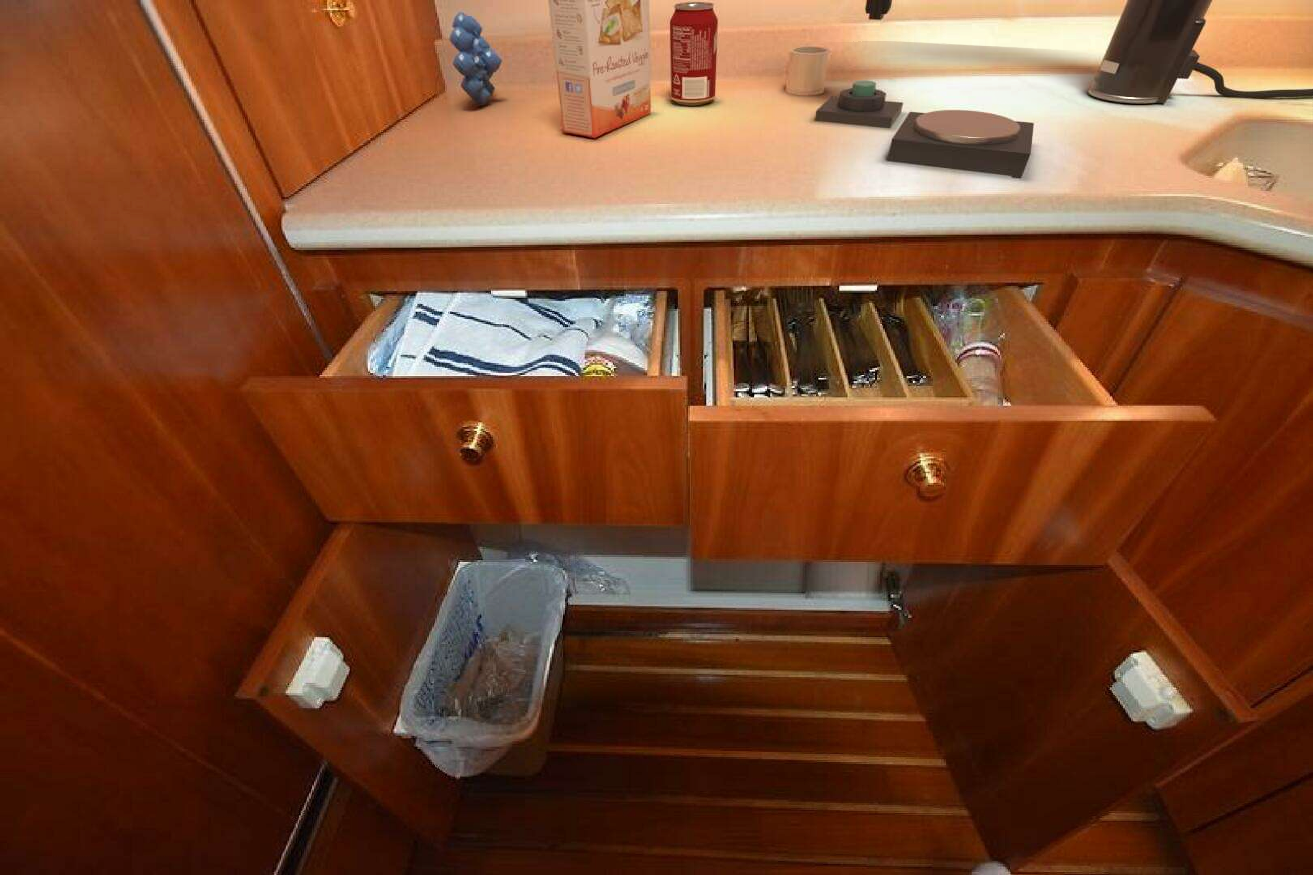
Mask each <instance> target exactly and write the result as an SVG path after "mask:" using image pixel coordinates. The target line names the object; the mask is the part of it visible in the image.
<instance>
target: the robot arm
mask: <svg viewBox="0 0 1313 875" xmlns="http://www.w3.org/2000/svg"><path fill="white" fill-rule="evenodd" d="M1212 2H1213V0H1126V2H1125V5H1124V7H1123V10H1122V11H1121V15H1120V17H1119V20H1118V22H1117V24H1116V26H1115V29H1114V31H1113V34H1112V36H1111V39H1110V40H1109V43H1108V45H1107V48H1106V51H1105V53H1104V55H1103V58H1102V60H1101V62H1100V65H1099V67H1098V70H1097V72H1096V74H1095V76H1094V78H1093V82H1092V84H1091V85H1090V87H1089V89H1088V91H1087V93H1088V94H1089V95H1090V96H1092V97H1094V98H1097V99H1100V100H1105V101H1109V102H1116V103H1124V104H1158V103H1159V104H1166V103H1167V101H1168V99H1169V96H1170V94H1172V93H1171V92H1172V91H1173V88H1174V87H1175V84H1176V83H1177V81H1178V80H1179V79H1181V80H1188V79H1189V78H1190V76H1191V75H1192V73H1193V71H1194V72H1197V73H1199V74H1202V75H1204V76H1207V77H1208V78H1210V79H1211V80H1213V82H1214V90H1215V91H1216V93H1217V94H1218V95H1220V96H1222V97H1226V98H1234V99H1235V98H1237V99H1258V100H1259V99H1271V98H1272V99H1273V98H1309V97H1313V88H1302V89H1301V88H1300V89H1299V88H1298V89H1297V88H1296V89H1293V88H1292V89H1269V90H1267V89H1266V90H1255V91H1254V90H1249V91H1247V90H1246V91H1245V90H1236V89H1232V88H1229V87H1227V86H1226V85H1225V81H1224V80H1225V79H1224V76H1223V75H1222V74H1221V72H1219V71H1218V70H1217V69H1215V68H1213V67H1211V66H1209V65H1206V64H1203V63H1202V62H1199V59H1200V55H1199V53H1198V52H1197V51H1196V50H1195V49H1194V47H1195V45H1196V44H1197V41H1198V39H1199V37H1200V35H1201V33H1202V31H1203V29H1204V27H1205V25H1206V23H1207V20H1206V18H1205V16H1206V14H1207V12H1208V11H1209V9H1210V6H1211V4H1212ZM892 5H893V0H866V3H865V7H864V8H865V9H864V11H865V14H869V15H868V20H870V21H871V20H872V21H882V20H883V19H884V17H885V15H887V14H889V12H890V11H891V9H892Z"/></svg>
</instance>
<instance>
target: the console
mask: <svg viewBox="0 0 1313 875" xmlns="http://www.w3.org/2000/svg"><path fill="white" fill-rule="evenodd" d="M851 92H852V87H850V88H846V89H841V91H840V92H839V93H838V96H833V95H832V96H830V97H829V98H828V99H827V100H826V101H825V102H824V103H823V104H822V105H820V106H819V107H818V108H817V109H816V111H815V117H814V121H815V122H819V123H830V124H840V125H849V126H850V125H851V126H859V127H860V126H861V127H869V128H871V127H872V128H879V129H880V128H881V129H892V127H893V125H894V124H895V122H896V121H897V119H898V118H899V117H900V115H901V114H902V110H903V106H904V102H903V101H892V100H886V97H887V93H886V92H884V91H883V90H881V89H876V88H875V93H874V96H864V97H862V96H854V95H851Z"/></svg>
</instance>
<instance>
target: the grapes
mask: <svg viewBox="0 0 1313 875" xmlns="http://www.w3.org/2000/svg"><path fill="white" fill-rule="evenodd" d="M451 26H452V28H453V29H452V31H451V32H450V35H449V42H450V43H451V45H452V46H453V47H454V48H455V49H456V50H457V51H458V53H457V54H456V55H455V57H454V58H453V61H452V62H453V63H452V65H453V67H454V68H455V69H456V70H457V71H458V73H459V74H460V75H461V76H463V79H462V80H461V83H460V87H461V89H462V90H463V91H464V93H466V94H467V95H468V96H469V97H470V98H471V100H472V101H473V102H474V103H475V104H476V105H477V106H480V107H483V106H485V105H486V104H487V103H488V102H489V100H490V98H491V97H492V96H493V94H494V92H495V89H496V86H494V85H493V83H492V82H491V81H490V80H491V78H492V77H493V75H494V73H496V72H497V71H498V70H499V69H500V67H501V65H502V62H503V59H502V58H501V57H500V56H499V54H498V53H497V51H495V50H493V49H492V48H491V45H490V44H489V43H488V41H487V40H486V39H485V38H484V37H483V36H481V34H482V31H483V27H482V26H481V24H480V23H479V22H478V21H477V19H476V18H474V17H473V16H471V15H468V14H466V13H464V12H462V11H461V12H459V11H458V13H457V14H456V15H455V16H454V19H453V21H452V25H451Z"/></svg>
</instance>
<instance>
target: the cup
mask: <svg viewBox="0 0 1313 875" xmlns="http://www.w3.org/2000/svg"><path fill="white" fill-rule="evenodd" d="M788 54H789V55H788V62H787V64H788V65H787V73H786V82H785V92H787V93H788V94H791V95H797V96H814V95H819V94H822V93H824V92H825V87H826V81H827V75H828V68H829V63H830V55H831V49H830V48H827V47H823V46H815V45H804V46H795V47H791V48H790V49H789V53H788Z"/></svg>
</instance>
